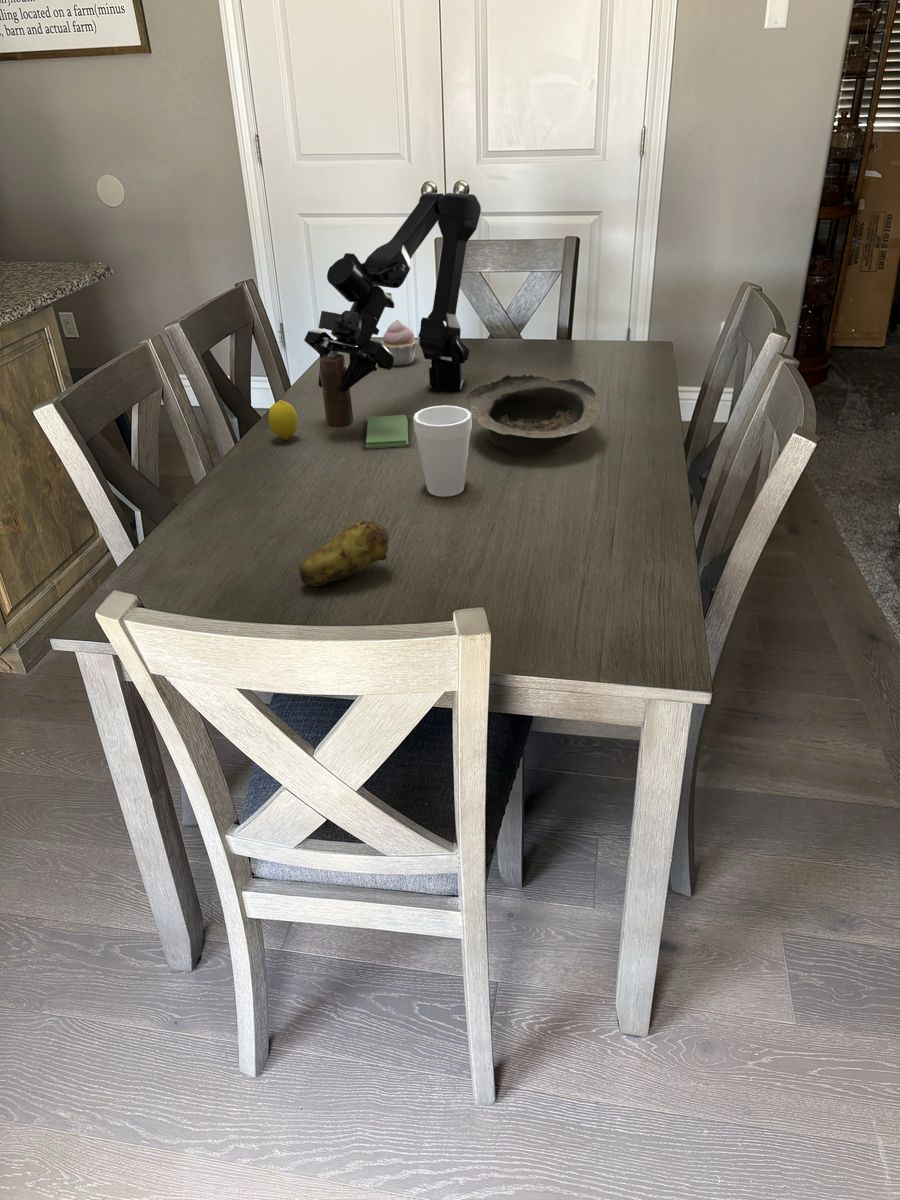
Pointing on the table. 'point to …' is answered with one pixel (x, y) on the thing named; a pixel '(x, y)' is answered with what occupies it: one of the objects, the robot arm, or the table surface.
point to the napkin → (387, 432)
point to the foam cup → (443, 447)
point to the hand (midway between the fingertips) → (330, 389)
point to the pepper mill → (335, 391)
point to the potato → (346, 553)
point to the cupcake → (400, 343)
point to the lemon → (283, 419)
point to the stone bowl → (534, 412)
